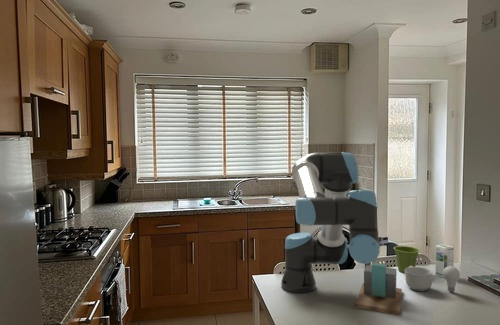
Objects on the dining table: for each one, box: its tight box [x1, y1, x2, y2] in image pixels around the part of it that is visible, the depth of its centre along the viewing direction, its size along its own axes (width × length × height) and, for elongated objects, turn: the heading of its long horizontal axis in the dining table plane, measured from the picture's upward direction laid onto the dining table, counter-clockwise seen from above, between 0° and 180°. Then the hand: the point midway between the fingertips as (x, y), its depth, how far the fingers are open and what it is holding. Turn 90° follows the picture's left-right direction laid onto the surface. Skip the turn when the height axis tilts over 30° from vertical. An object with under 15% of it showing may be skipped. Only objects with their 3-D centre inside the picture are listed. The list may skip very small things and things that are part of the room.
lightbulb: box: [443, 266, 461, 293], centre depth 151 cm, size 6×6×11 cm
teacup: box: [404, 266, 433, 292], centre depth 157 cm, size 14×11×8 cm
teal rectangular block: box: [371, 262, 387, 297], centre depth 146 cm, size 5×14×12 cm, turn 156°
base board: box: [354, 282, 403, 316], centre depth 144 cm, size 16×23×2 cm
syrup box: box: [434, 244, 455, 279], centre depth 170 cm, size 6×6×14 cm
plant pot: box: [393, 245, 420, 274], centre depth 177 cm, size 12×12×11 cm
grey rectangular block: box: [363, 264, 397, 299], centre depth 147 cm, size 12×8×10 cm, turn 66°
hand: (369, 240), depth 128 cm, fingers closed
